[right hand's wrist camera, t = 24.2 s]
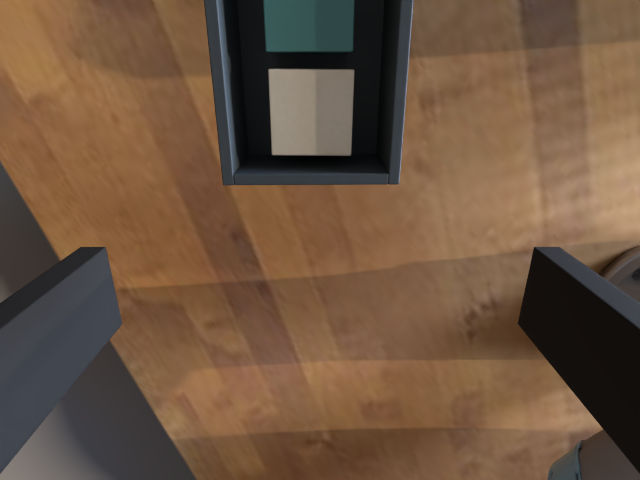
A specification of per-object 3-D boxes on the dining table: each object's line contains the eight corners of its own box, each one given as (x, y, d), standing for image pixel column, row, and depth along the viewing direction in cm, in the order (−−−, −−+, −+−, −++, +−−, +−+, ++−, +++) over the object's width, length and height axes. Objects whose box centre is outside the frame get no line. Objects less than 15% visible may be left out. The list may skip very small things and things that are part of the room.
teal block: (349, -34, 25) (356, -55, 21) (347, 53, 27) (353, 51, 23) (270, -33, 25) (260, -55, 21) (274, 53, 27) (265, 51, 23)
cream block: (348, 68, 28) (354, 69, 23) (346, 141, 30) (351, 155, 25) (276, 68, 28) (268, 69, 23) (278, 141, 30) (271, 155, 25)
